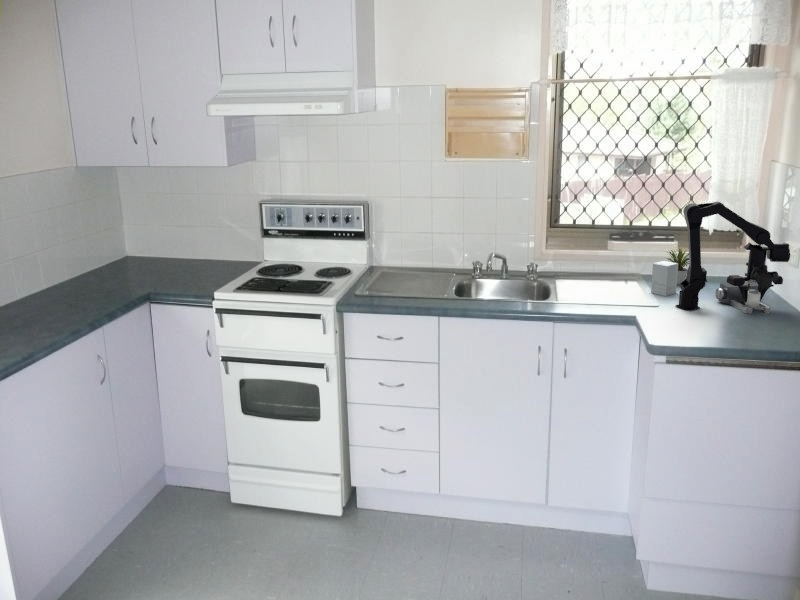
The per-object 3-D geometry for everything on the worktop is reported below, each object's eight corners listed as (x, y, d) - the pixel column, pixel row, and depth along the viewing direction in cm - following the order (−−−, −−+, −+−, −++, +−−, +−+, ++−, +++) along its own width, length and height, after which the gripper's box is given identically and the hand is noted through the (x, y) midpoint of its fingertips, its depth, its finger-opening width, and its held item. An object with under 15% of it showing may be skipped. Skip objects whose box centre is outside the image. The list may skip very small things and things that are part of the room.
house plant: (677, 289, 297) (680, 251, 292) (652, 282, 308) (654, 245, 304) (701, 285, 303) (705, 247, 298) (675, 278, 315) (678, 241, 310)
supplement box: (676, 293, 292) (679, 263, 288) (665, 296, 288) (668, 266, 284) (661, 289, 298) (663, 260, 294) (650, 292, 294) (652, 262, 290)
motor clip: (737, 314, 263) (739, 292, 261) (713, 300, 281) (715, 280, 279) (774, 312, 264) (777, 291, 261) (748, 298, 282) (750, 278, 279)
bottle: (741, 305, 269) (743, 289, 267) (750, 303, 271) (752, 288, 269) (752, 308, 265) (754, 292, 263) (762, 306, 267) (764, 291, 265)
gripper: (743, 267, 255) (738, 309, 259) (794, 265, 256) (788, 307, 260) (728, 260, 266) (723, 300, 270) (776, 258, 267) (771, 298, 271)
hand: (752, 301), depth 267 cm, fingers closed on bottle, 5 cm apart
